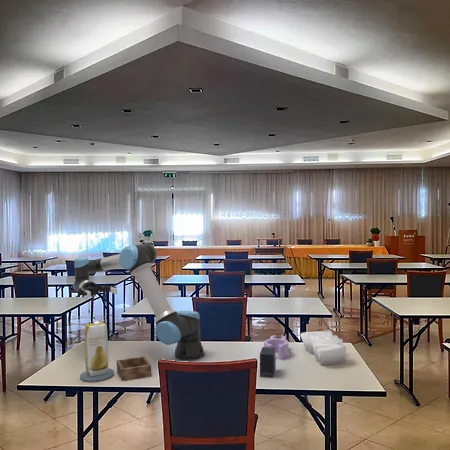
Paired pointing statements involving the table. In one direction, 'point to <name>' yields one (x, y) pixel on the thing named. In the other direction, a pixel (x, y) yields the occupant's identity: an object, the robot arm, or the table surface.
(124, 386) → the table surface
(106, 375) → the rubber coaster
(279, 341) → the lilac desk organizer
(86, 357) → the juice carton
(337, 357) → the white wavy slab sculpture
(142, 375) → the walnut collar
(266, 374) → the small box
